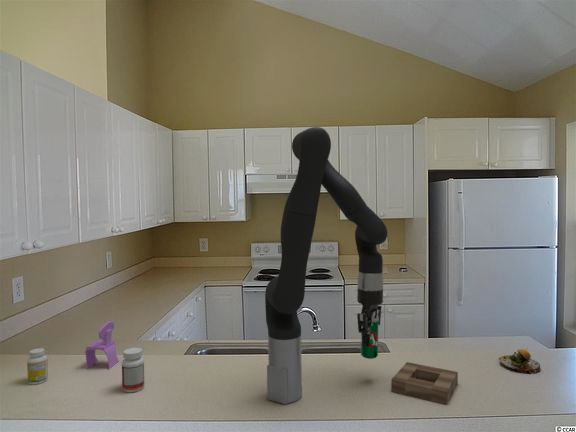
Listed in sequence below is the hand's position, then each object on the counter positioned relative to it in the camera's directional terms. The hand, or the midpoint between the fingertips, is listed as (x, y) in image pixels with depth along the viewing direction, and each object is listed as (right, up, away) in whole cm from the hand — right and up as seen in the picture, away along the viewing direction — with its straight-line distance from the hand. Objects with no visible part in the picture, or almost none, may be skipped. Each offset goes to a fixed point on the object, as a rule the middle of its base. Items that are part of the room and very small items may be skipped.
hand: (369, 343), depth 124 cm
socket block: (+15, -12, -4) cm, 20 cm away
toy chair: (-87, -13, +16) cm, 89 cm away
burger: (+51, -11, +10) cm, 53 cm away
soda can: (0, -4, 0) cm, 4 cm away
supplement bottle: (-102, -13, +4) cm, 103 cm away
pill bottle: (-70, -13, -2) cm, 71 cm away
